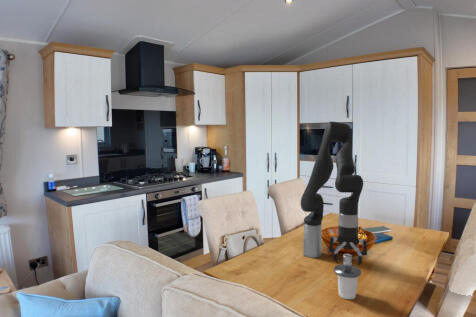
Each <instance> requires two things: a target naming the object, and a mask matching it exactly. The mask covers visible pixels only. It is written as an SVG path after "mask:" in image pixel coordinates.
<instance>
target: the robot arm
mask: <svg viewBox="0 0 476 317" xmlns="http://www.w3.org/2000/svg"><path fill="white" fill-rule="evenodd" d="M352 140H353V139H352V129H351V126H350V124H348V123H344V122H343V123H342V122H337V121H329V122H328V123H327V124H326V126H325V128H324V131H323V136H322V140H321V144H320V148H319V151H318V154H317V156H316V159H315V162H314V165H313V167H312V171H311V174H310V176H309V180H308V183H307V185H306V187H305V190H304V191H303V194H302V195H301V199H300V208H301V210H302V211H303V212H305V213H309V214H308V215H307V216H305V217H304V218H303V238H302V239H303V240H302V243H303V244H302V247H303V249H302V254H303V255H302V256H303V257H308V258H312V259H313V258H315V259H316V258H320V257H322V223H323V220H324V205H325V204H324V198H323V196H322V194H320V193H318V192H319V190H320V189H321V188H322V187H324V186H325V185H326V183H327V182H328V181H329V180H330V178H331V176H332V173H333V170H334V168H335V167H336V177H335V182H334V187H335V189H336V190H337V192H339V193H351V195H350V196H347V197H342V198H341V199H339V204H338V205H339V209H338V211H339V212H338V223H337V224H338V228H337V229H338V234H337V237H335V236H333V235H331V236H329V237H330V240H329V250H328V251H329V252H330V253H333V261H335V263H338V260H339V259H338V258H339V257H338V253H339V252H340V251H341V250H342V249H343V250H350V251H352V250H354V251H355V253H356V254H357V265H358V266H360V265H361V264H362V263H363V262H362V261H363V256H367V255H368V246H367V245H368V244H367V239H366V238H361V239H359V201H360V197H361V194H362V191H363V189H364V179H363V178H362V176H361V175H359V174H355V171H356V167H355V163H354V159H353V154H352V153H353V152H352V147H353V144H352V143H353V142H352ZM332 142H333V143H338V144H342V147H341V148H340V149H339V150H338V152H336V155H335V164H334V161H333V158H332V154H331V152H330V144H331V143H332ZM334 165H336V166H335V167H334ZM336 242H337V243H338V244H337V245H336V247H335V248H334V246H333V245H334V244H335V243H336ZM359 243H360V245H361V246H362V250H361V249H360V248H359V247H358V245H359Z"/></svg>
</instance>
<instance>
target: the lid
mask: <svg viewBox="0 0 476 317" xmlns="http://www.w3.org/2000/svg"><path fill="white" fill-rule="evenodd" d="M342 256H343V257H342V258H343V259H342V261H343V262H342V263H341V264H338V265H335V266H334V267H333V272H334V273H335V274H336V275H337V276H338V275H339V276H342V277H347V278H356V277H358V278H359V277H360V276H361V275H362V270H361V269H360V268H359V267H357V266H355V265H352V260H353V257H352V256H353V255H352V254H351V253H343V255H342Z"/></svg>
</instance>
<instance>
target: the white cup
mask: <svg viewBox="0 0 476 317" xmlns="http://www.w3.org/2000/svg"><path fill="white" fill-rule="evenodd" d="M358 279H359V277H356V278H347V277H342V276H339V275H337V288H338V296H339V297H341V298H342V299H344V300H354V299H356V297H357V288H358Z"/></svg>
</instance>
